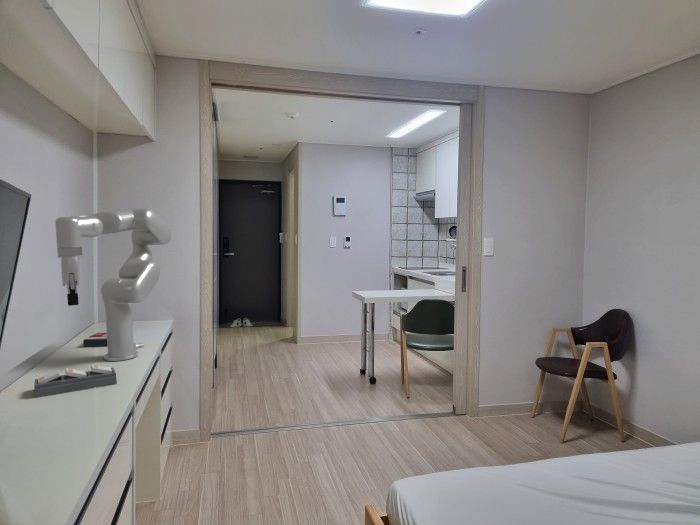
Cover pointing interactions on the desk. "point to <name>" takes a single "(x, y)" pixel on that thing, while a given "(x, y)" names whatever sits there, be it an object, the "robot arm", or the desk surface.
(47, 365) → the desk surface
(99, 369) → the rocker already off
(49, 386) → the rocker switch panel
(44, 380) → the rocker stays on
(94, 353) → the desk surface
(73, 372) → the rocker middle
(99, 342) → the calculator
